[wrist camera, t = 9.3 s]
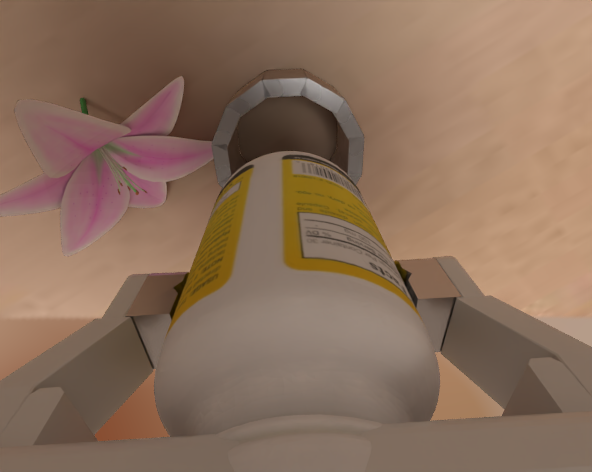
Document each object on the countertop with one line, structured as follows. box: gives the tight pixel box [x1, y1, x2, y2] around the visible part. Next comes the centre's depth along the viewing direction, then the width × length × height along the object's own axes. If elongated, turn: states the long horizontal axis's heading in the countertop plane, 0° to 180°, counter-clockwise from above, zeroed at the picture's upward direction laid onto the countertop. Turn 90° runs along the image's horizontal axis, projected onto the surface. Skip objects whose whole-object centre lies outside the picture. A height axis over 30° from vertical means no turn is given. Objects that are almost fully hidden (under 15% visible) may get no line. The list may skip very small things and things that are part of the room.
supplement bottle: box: [154, 151, 440, 472], centre depth 8 cm, size 5×5×10 cm
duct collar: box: [211, 69, 364, 188], centre depth 20 cm, size 8×8×4 cm
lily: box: [0, 76, 214, 256], centre depth 19 cm, size 12×12×10 cm
